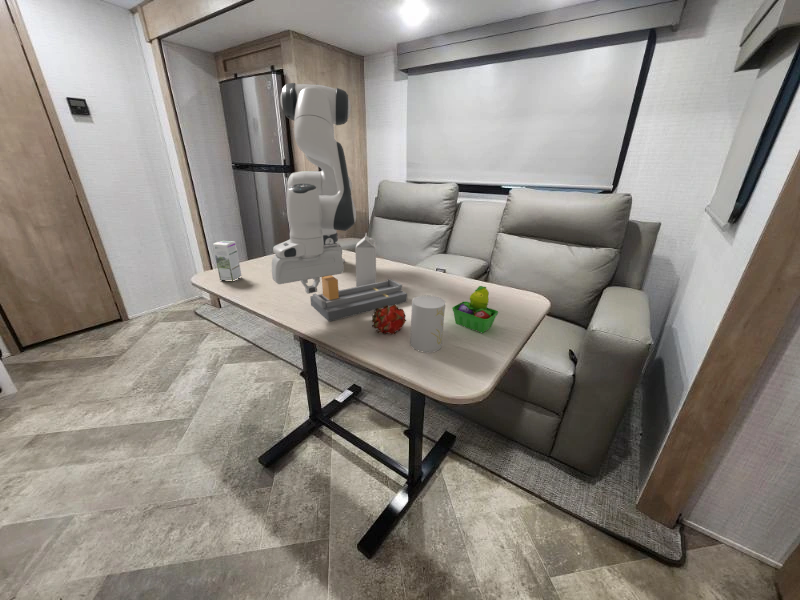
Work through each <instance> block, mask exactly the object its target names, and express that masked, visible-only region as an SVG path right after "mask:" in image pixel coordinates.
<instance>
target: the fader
mask: <svg viewBox="0 0 800 600" xmlns="http://www.w3.org/2000/svg"><path fill="white" fill-rule="evenodd" d="M321 288H322V294H323V295H321V297H322V299H323V300H324V301H325V302H327V301H332V300H337V299H340V297H339V294H338V290H339V279H337V278H336V277H335V276H334V275H331V276H325V277H321Z"/></svg>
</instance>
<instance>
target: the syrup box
mask: <svg viewBox="0 0 800 600" xmlns="http://www.w3.org/2000/svg"><path fill="white" fill-rule="evenodd" d="M212 248H213V251H214V252H213V253H214V257H215V263H216V267H217V271H218V276H219V281H220V280H232V281H233V280H235V279H237V278H239V277H240V276H242V277H243V274H242V271H241V265H240V261H239V254H238V253H239V252H238V249H237V243H236V241H235V240H233V241H231V240H230V241H229V240H220V241H216V242H214V243H212Z"/></svg>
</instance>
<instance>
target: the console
mask: <svg viewBox="0 0 800 600" xmlns="http://www.w3.org/2000/svg"><path fill="white" fill-rule="evenodd" d="M338 294H339V297H340V299H337V300H332V301H327V302H325V301H324V300H323V299H322V297H321V295H323V293H318V294H317V293H312V295H311V296H310V306H311V307H312V308H313V309H315V311H316V312H318V313H319V314H320V315H321V316H322V317H323V318H324V319H325V320H326V321H328V322H333V321H336V320H340V319H344V318H349V317H352V316H356V315H360V314H364V313H365V314H366V313H368V312H371V311H372V312H373V311H375V310H376V308H383V306H386V305H388V307H390V306H393V305H396V306H397V305H400V304H403V303H407V300H408V299H407V298H408V294H407V292H405V291H403V284H401V283H399V282H397V281H395V280H394V279H391V278H387V280H384V281H383V280H382V281H380V282H376V283H373V284H368V285H363V286H358V287H356V286H353V287H350V288H344V289H338Z"/></svg>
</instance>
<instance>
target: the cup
mask: <svg viewBox="0 0 800 600" xmlns="http://www.w3.org/2000/svg"><path fill="white" fill-rule="evenodd" d="M445 309H446V301H445V299H443V298H442V297H439V296H436V295H431V294H430V295H429V294H428V295H427V294H425V295H424V294H422V295H417V296H415V297H413V298H412V300H411V316H410V317H411V321H410V337H409V338H410V341H409V344H411V345H410V347H411V346H412V347H413V348H414V350H415V349H416V350H415V351H417V350H419V351H418V352H420V351H423V352H422V353H434V351H435V352H437V351H439V350H441V348H442V345H443V332H444V325H445V324H444V322H445V312H446V311H445ZM412 347H411V348H412ZM413 348H412V349H413Z"/></svg>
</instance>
